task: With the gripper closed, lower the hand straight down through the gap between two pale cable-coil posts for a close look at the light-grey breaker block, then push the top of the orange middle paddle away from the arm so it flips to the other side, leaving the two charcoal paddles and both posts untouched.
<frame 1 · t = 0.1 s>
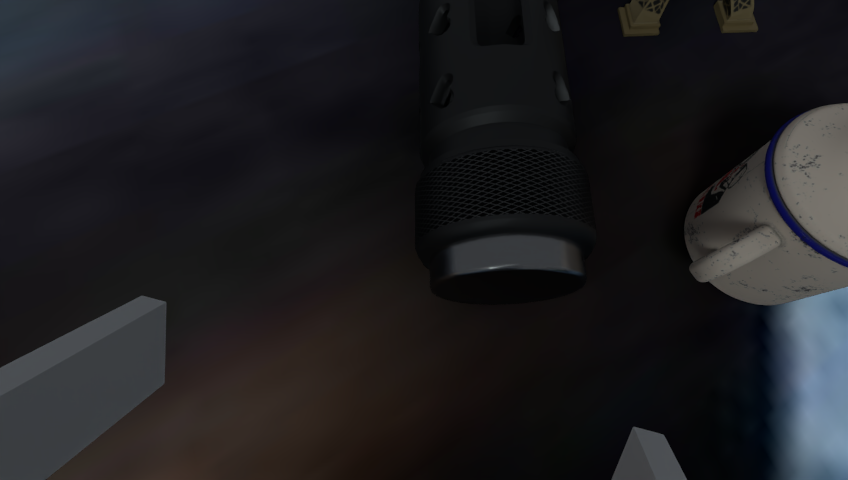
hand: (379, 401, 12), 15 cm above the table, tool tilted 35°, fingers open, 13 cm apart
muzzle brake: (480, 124, 33), on the table
teacup with lid: (728, 252, 30), on the table
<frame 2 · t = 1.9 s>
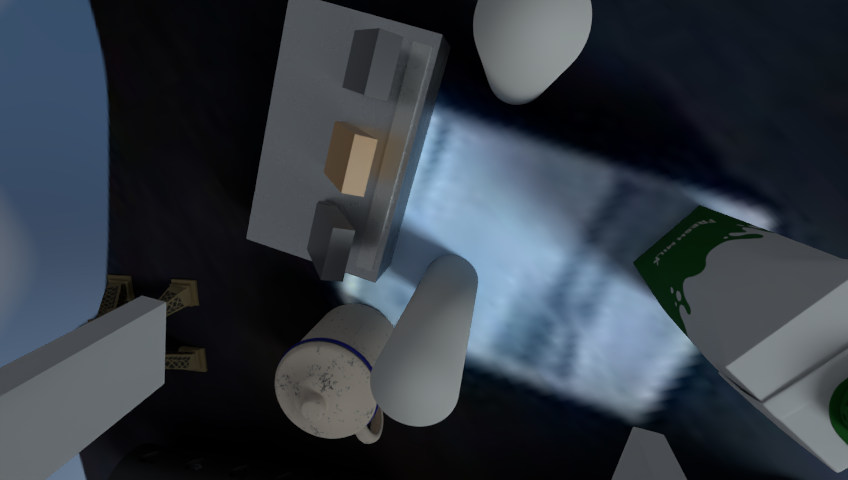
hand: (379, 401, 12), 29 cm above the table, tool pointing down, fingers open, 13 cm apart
muzzle brake: (280, 468, 51), on the table
teacup with lid: (365, 353, 45), on the table
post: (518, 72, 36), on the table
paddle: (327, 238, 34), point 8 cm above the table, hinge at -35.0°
breaker block: (355, 144, 40), on the table
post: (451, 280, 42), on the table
eiffel tower: (160, 321, 49), on the table
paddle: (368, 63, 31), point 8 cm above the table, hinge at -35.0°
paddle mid: (346, 155, 32), point 8 cm above the table, hinge at -35.0°
milk carton: (693, 261, 38), on the table
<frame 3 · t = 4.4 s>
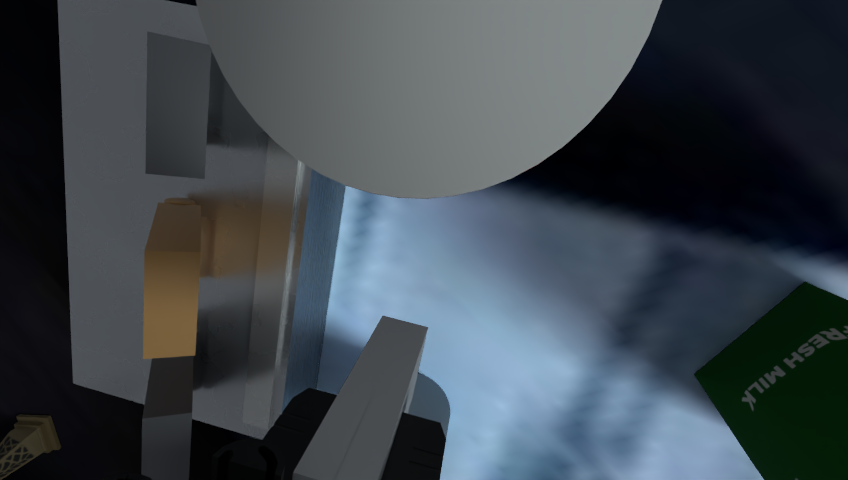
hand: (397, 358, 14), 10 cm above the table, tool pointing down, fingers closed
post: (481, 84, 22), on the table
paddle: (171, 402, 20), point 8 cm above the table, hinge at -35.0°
breaker block: (238, 215, 26), on the table
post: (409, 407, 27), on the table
eiffel tower: (17, 469, 35), on the table
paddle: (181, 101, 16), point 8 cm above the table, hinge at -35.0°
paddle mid: (175, 267, 18), point 8 cm above the table, hinge at -35.0°
milk carton: (795, 368, 23), on the table
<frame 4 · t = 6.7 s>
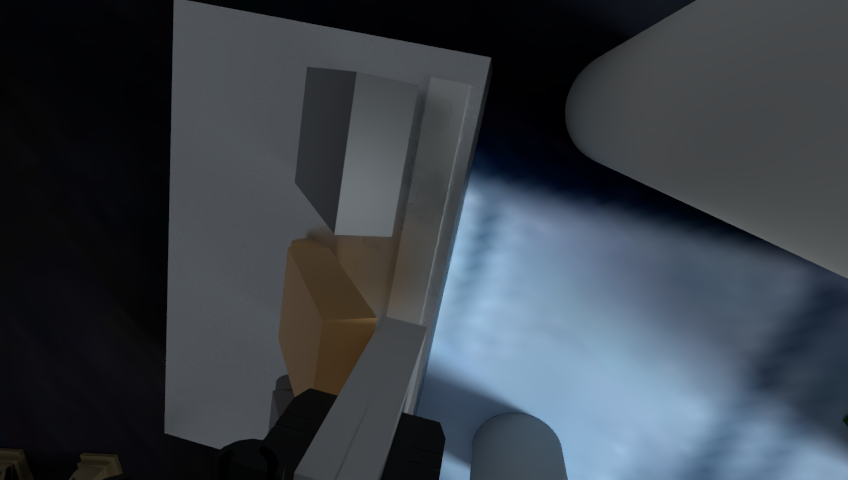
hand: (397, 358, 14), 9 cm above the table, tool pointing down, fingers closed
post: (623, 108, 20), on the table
breaker block: (337, 247, 24), on the table
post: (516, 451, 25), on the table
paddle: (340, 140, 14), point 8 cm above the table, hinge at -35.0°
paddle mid: (316, 322, 16), point 8 cm above the table, hinge at -35.0°, touching gripper
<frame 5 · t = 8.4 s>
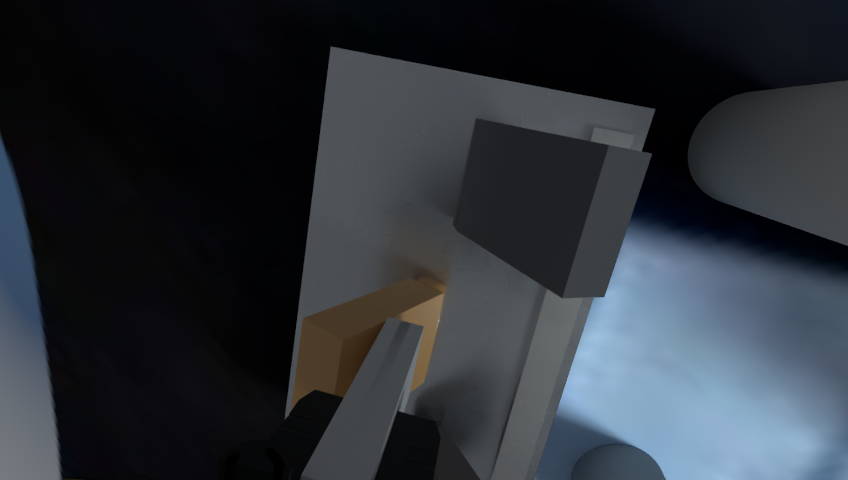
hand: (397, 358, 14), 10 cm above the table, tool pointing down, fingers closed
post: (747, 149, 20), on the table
breaker block: (445, 281, 24), on the table
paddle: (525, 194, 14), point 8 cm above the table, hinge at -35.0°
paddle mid: (382, 350, 16), point 8 cm above the table, hinge at 24.8°, touching gripper
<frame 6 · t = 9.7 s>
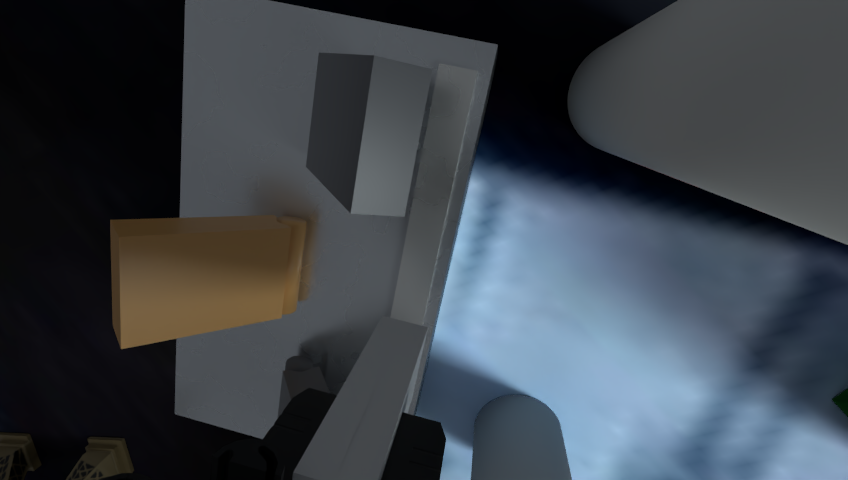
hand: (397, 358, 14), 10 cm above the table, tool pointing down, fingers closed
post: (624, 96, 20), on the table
breaker block: (343, 232, 24), on the table
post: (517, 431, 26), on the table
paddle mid: (219, 273, 17), point 8 cm above the table, hinge at 40.1°
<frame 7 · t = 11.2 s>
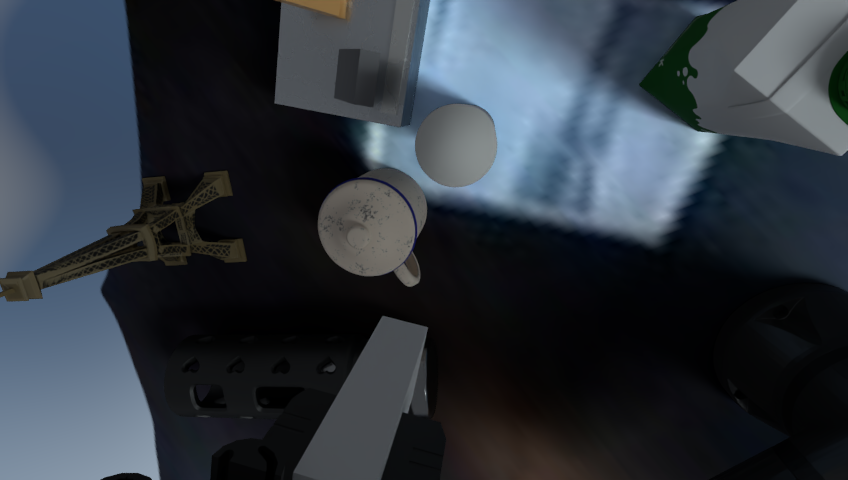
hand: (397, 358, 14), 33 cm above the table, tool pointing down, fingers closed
muzzle brake: (325, 348, 54), on the table
teacup with lid: (395, 218, 48), on the table
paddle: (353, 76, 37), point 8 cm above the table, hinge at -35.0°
breaker block: (365, 6, 42), on the table
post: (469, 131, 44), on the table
eiffel tower: (197, 219, 52), on the table
milk carton: (695, 75, 40), on the table
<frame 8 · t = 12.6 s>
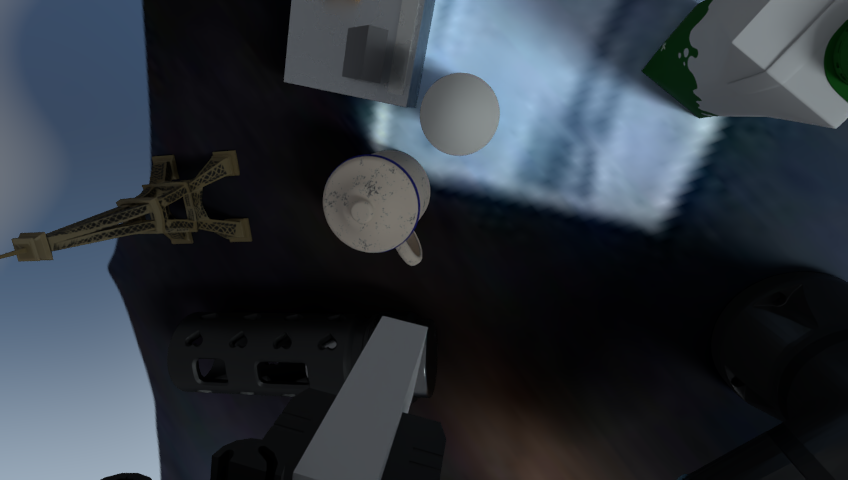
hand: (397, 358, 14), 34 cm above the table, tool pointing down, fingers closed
muzzle brake: (326, 330, 55), on the table
teacup with lid: (399, 201, 49), on the table
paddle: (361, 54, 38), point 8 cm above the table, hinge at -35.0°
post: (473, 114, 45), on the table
eiffel tower: (204, 198, 53), on the table
milk carton: (697, 62, 41), on the table
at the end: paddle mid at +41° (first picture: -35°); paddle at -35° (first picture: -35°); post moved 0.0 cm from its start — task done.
